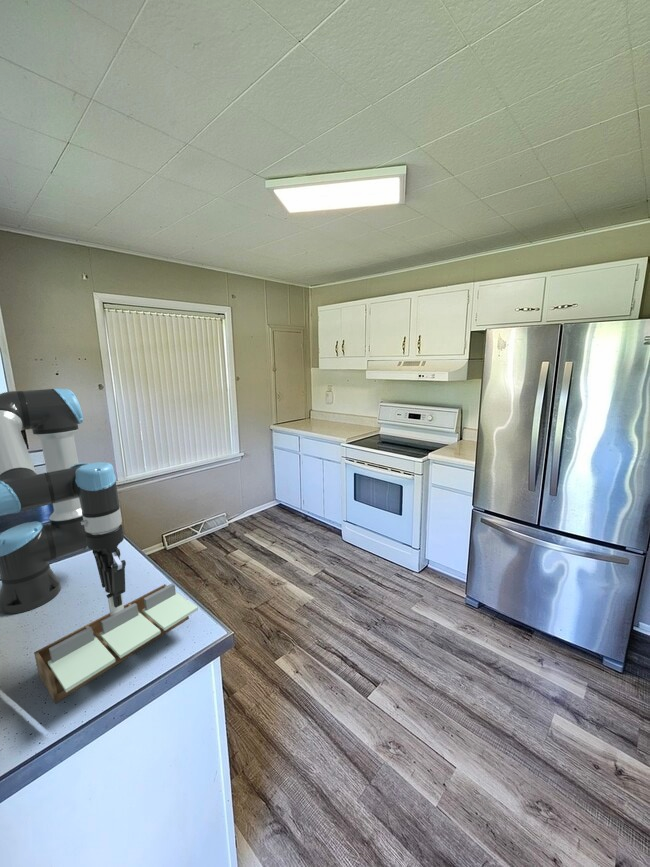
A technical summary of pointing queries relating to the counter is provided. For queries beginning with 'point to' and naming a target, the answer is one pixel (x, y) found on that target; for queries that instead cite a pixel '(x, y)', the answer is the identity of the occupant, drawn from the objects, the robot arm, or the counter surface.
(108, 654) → the lid
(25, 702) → the counter surface
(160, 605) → the lid
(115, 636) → the lid
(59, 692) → the box
